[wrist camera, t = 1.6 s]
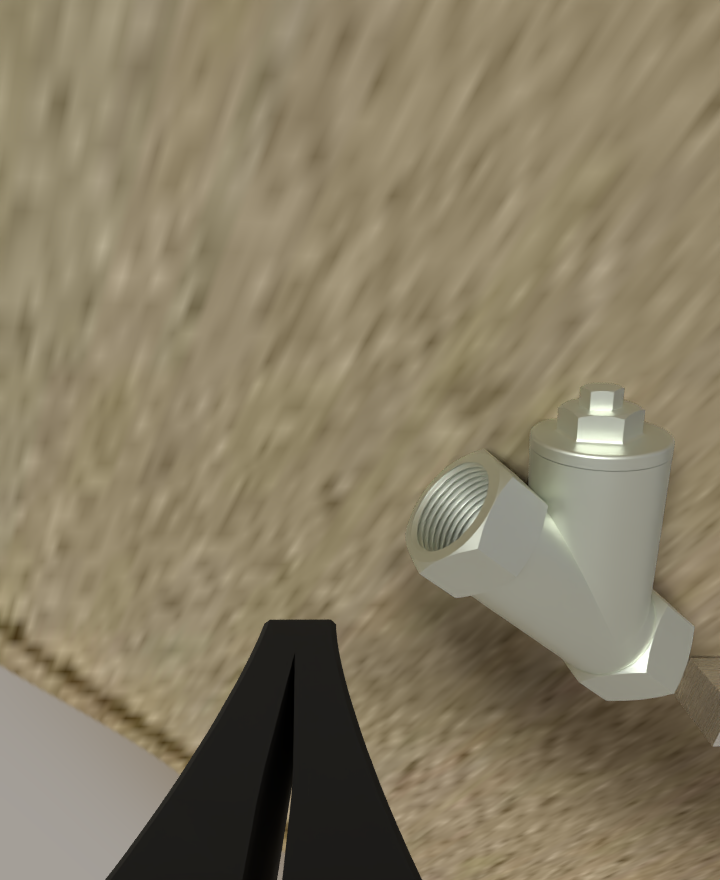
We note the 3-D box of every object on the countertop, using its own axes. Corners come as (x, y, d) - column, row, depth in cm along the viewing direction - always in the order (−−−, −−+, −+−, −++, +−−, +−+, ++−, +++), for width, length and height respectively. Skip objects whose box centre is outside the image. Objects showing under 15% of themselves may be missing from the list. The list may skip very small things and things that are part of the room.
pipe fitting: (550, 345, 13) (396, 514, 14) (644, 370, 9) (423, 595, 10) (707, 498, 15) (560, 632, 16) (833, 568, 11) (630, 733, 13)
